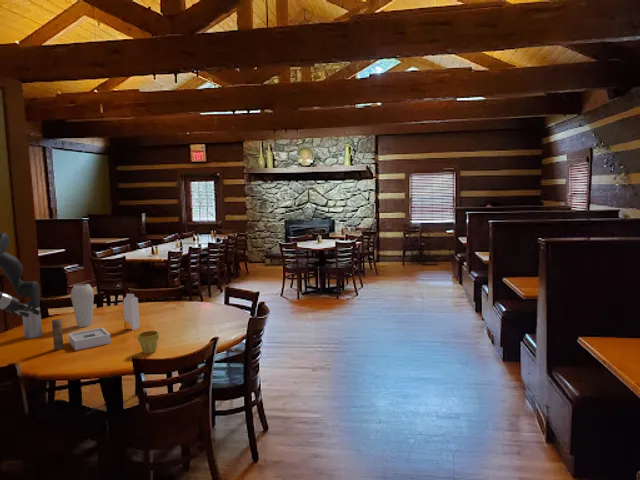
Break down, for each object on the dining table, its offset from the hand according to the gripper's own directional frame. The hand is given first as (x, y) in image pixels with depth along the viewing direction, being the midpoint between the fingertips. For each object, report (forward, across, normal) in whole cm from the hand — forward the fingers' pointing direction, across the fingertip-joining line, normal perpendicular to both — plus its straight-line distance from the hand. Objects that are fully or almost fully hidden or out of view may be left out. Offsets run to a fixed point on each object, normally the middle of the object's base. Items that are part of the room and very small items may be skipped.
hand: (33, 314), depth 250 cm
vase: (+48, +22, -16) cm, 54 cm away
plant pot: (+35, -53, +14) cm, 65 cm away
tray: (+31, -10, +6) cm, 33 cm away
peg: (+20, -2, +12) cm, 23 cm away
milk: (+55, -14, -11) cm, 57 cm away
